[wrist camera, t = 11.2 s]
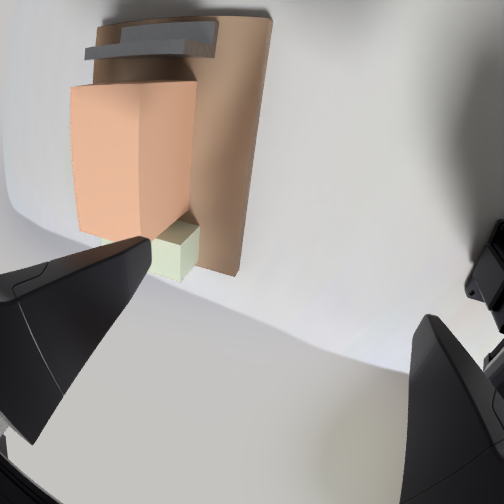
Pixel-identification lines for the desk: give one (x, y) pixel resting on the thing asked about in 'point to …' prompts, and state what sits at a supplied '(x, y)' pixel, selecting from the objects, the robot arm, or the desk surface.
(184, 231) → the pale green rectangular block
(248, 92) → the shelf board
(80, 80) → the desk surface
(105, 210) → the peach rectangular block
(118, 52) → the bookend
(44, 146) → the desk surface
